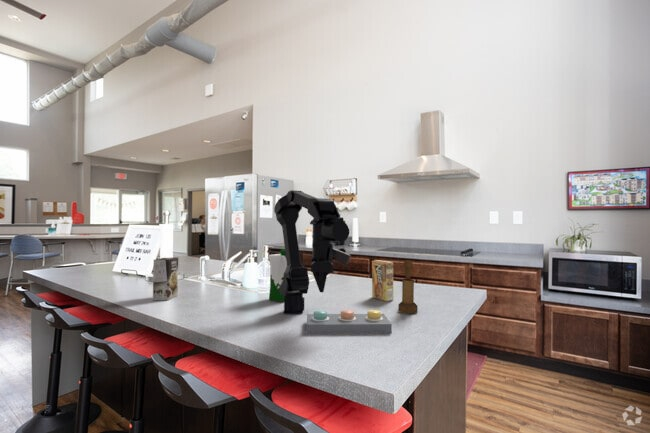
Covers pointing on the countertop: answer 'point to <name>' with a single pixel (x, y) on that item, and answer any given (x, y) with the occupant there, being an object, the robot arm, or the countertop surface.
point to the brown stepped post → (407, 292)
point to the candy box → (382, 280)
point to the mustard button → (374, 314)
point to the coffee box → (165, 278)
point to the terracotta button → (347, 314)
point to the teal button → (320, 314)
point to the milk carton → (277, 275)
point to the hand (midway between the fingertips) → (321, 292)
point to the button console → (348, 324)
